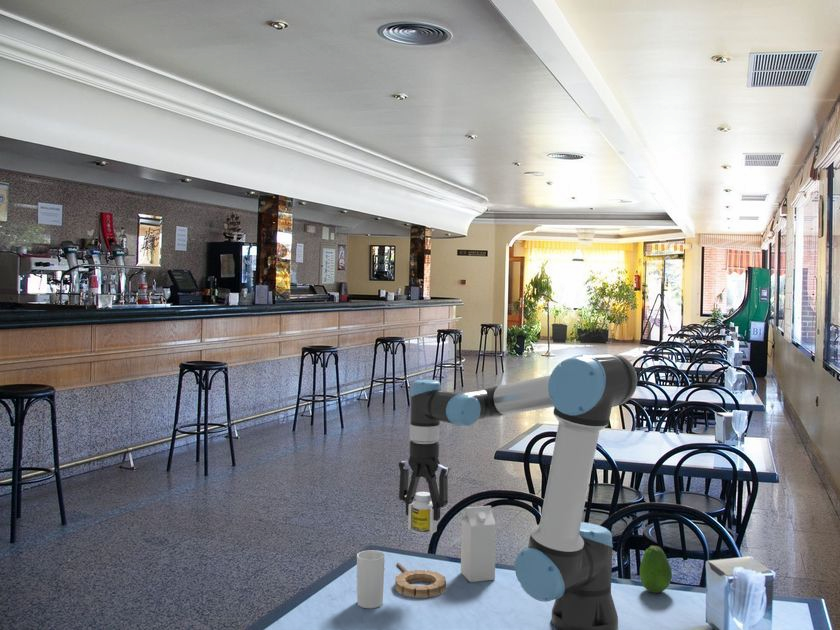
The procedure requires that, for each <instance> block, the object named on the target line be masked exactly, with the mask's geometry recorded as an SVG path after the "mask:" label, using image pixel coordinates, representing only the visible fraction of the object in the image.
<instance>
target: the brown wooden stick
mask: <svg viewBox="0 0 840 630" xmlns="http://www.w3.org/2000/svg"><path fill="white" fill-rule="evenodd" d="M396 566H397V567H398V568H399V569H400V570H401V571H402V573H403V572H407V571H408V570H407V569H406V568H405V567H404V566H403V565H402V564H401V563H400V562H396Z"/></svg>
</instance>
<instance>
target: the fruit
mask: <svg viewBox="0 0 840 630" xmlns="http://www.w3.org/2000/svg"><path fill="white" fill-rule="evenodd" d="M671 567H672V566H671V564H670V562H669V560H668V557H667V556H666V553H665V552H664V550H663V549H662V547H660V546H657V545H650V546H649V547H648V548H646V549H645V551H644V554H643V557H642V559H641V561H640V566H639V578H640V581H641V585H642V586H643V587H644V589H645V590H647V591H648V592H650V593H653V594H656V593H657V594H658V593H661V592H664V591H665V590H666V589H667V588H669V586H670V584H671V581H672V578H673V574H672V568H671Z"/></svg>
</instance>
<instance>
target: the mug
mask: <svg viewBox="0 0 840 630" xmlns="http://www.w3.org/2000/svg"><path fill="white" fill-rule="evenodd" d="M384 577H385V553H384V552H383V551H381V550H374V549H372V550H369V549H368V550H363V551H360V552H358V553H357V554H356V595H357V596H356V600H357V601H356V603H357V605H358V606H359V607H361V608H365V609H376V608H380V607H381V606H382V605H383V602H384V587H385V585H384V584H385V580H384Z"/></svg>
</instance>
